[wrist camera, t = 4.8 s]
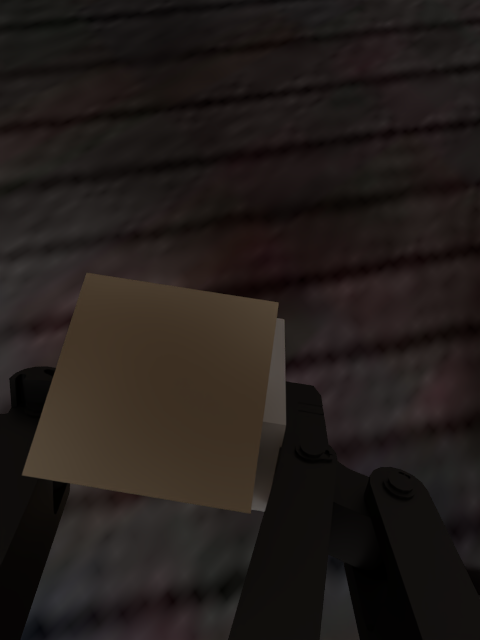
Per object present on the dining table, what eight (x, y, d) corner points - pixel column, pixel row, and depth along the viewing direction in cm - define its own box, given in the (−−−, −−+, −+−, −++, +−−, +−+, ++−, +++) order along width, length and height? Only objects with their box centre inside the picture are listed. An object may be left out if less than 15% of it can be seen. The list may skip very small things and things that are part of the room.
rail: (232, 507, 20) (250, 513, 7) (153, 494, 20) (21, 475, 7) (244, 426, 21) (279, 302, 8) (170, 415, 21) (86, 272, 8)
